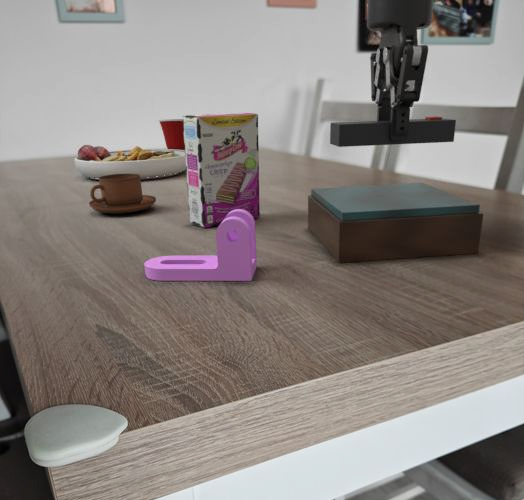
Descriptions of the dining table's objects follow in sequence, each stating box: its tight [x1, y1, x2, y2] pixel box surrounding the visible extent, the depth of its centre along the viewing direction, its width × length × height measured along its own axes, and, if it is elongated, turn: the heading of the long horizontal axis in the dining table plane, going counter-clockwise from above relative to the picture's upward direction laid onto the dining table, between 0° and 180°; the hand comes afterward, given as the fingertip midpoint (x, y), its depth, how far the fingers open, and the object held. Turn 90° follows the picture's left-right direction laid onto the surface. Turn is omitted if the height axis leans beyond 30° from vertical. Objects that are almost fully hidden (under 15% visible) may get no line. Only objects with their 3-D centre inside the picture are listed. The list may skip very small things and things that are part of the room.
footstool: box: [307, 182, 484, 264], centre depth 76 cm, size 18×19×6 cm
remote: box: [329, 116, 457, 148], centre depth 71 cm, size 5×15×3 cm, turn 97°
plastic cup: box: [157, 118, 185, 150], centre depth 179 cm, size 11×11×12 cm
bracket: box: [143, 209, 258, 282], centre depth 64 cm, size 13×6×7 cm, turn 84°
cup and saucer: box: [88, 174, 157, 215], centre depth 101 cm, size 12×12×6 cm
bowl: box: [74, 144, 186, 181], centre depth 146 cm, size 30×30×8 cm
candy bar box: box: [182, 112, 261, 229], centre depth 88 cm, size 11×5×16 cm, turn 126°
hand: (391, 138), depth 71 cm, fingers closed on remote, 4 cm apart
